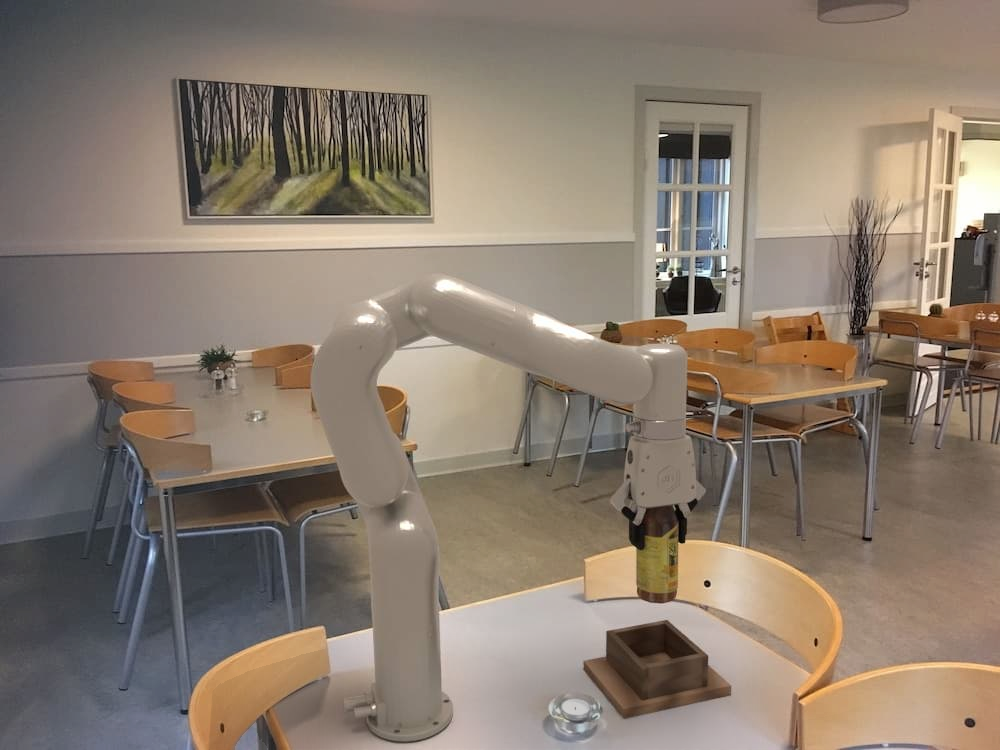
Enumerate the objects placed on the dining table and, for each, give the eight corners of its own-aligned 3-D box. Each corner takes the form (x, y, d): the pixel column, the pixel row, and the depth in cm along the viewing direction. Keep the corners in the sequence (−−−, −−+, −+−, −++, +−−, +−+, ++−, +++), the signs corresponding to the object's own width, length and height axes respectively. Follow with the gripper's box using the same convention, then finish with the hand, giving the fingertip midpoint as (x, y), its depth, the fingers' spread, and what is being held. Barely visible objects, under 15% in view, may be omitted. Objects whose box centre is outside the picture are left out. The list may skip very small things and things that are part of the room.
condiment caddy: (623, 718, 112) (624, 677, 111) (583, 669, 125) (583, 631, 124) (730, 694, 117) (732, 654, 116) (681, 649, 131) (682, 613, 129)
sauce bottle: (678, 607, 115) (680, 478, 112) (635, 604, 116) (636, 476, 113) (677, 588, 121) (679, 465, 118) (636, 585, 123) (637, 464, 119)
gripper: (618, 439, 108) (617, 561, 111) (725, 428, 114) (721, 544, 117) (595, 427, 115) (595, 542, 118) (696, 417, 121) (694, 528, 124)
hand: (657, 542), depth 117 cm, fingers closed on sauce bottle, 6 cm apart
